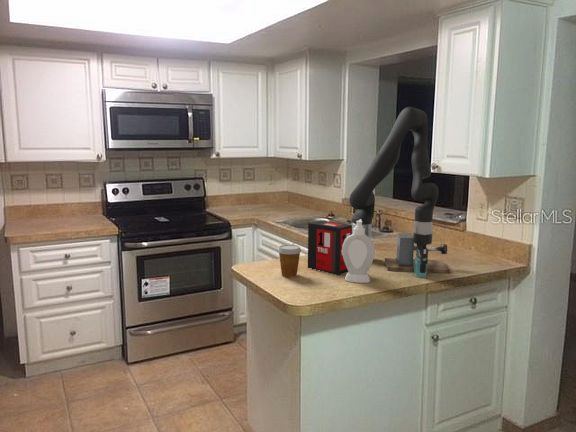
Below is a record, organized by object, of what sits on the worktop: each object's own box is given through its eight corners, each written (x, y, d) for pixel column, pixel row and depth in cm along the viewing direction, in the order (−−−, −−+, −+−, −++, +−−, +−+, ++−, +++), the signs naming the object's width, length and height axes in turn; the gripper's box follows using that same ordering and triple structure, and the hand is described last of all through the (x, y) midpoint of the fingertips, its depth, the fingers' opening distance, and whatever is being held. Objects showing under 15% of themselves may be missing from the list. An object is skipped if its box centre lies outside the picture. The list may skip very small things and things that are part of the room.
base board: (387, 270, 206) (387, 267, 206) (384, 261, 222) (384, 257, 222) (449, 273, 203) (449, 269, 203) (442, 263, 219) (442, 260, 219)
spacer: (416, 276, 197) (417, 260, 196) (414, 273, 203) (415, 257, 202) (426, 277, 197) (427, 260, 196) (423, 273, 202) (424, 257, 201)
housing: (398, 265, 208) (400, 237, 206) (396, 260, 218) (397, 233, 216) (412, 266, 208) (414, 238, 206) (409, 260, 217) (411, 233, 215)
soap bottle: (374, 278, 194) (377, 219, 190) (372, 284, 187) (375, 223, 183) (343, 276, 198) (344, 217, 194) (340, 281, 190) (341, 221, 186)
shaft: (410, 253, 210) (410, 244, 209) (408, 251, 214) (409, 242, 213) (446, 255, 208) (447, 245, 207) (444, 252, 212) (445, 243, 211)
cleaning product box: (307, 268, 209) (308, 223, 206) (319, 264, 216) (320, 220, 213) (339, 275, 199) (340, 228, 195) (350, 270, 205) (352, 225, 202)
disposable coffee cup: (281, 279, 193) (281, 250, 191) (275, 272, 202) (275, 244, 200) (303, 277, 195) (304, 248, 193) (296, 271, 204) (297, 243, 202)
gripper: (411, 228, 204) (409, 265, 207) (416, 235, 190) (414, 274, 193) (429, 228, 203) (427, 265, 206) (435, 235, 189) (433, 275, 192)
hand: (421, 270), depth 199 cm, fingers open, 8 cm apart
